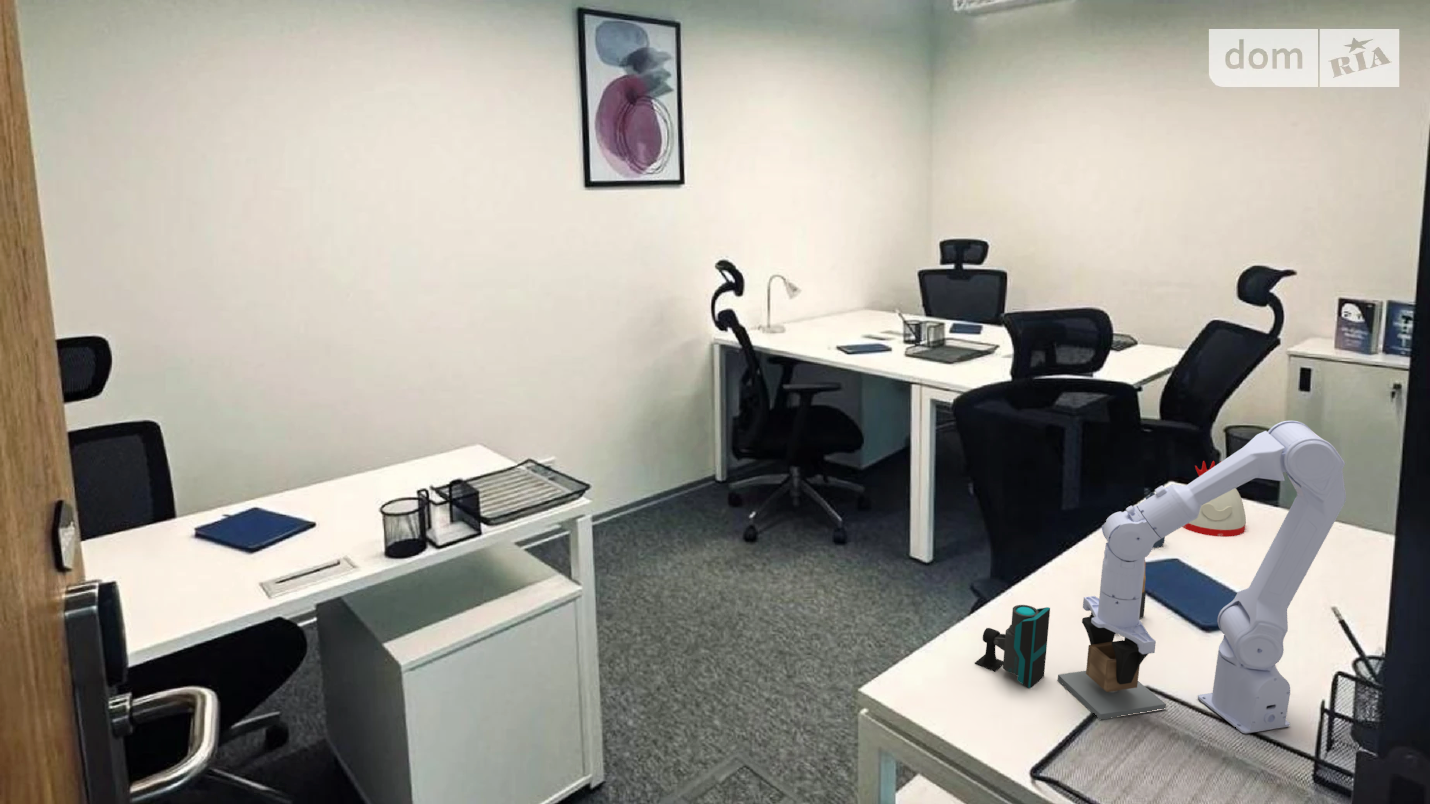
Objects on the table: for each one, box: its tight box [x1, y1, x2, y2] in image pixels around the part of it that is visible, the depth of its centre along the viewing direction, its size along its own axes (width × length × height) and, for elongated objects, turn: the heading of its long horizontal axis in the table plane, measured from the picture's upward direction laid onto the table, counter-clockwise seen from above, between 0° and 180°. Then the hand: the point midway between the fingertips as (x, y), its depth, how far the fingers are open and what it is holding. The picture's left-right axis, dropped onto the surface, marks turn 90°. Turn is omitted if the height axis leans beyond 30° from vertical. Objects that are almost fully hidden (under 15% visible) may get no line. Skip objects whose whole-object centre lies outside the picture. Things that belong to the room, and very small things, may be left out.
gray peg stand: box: [1057, 670, 1167, 720], centre depth 139 cm, size 11×11×6 cm
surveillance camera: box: [974, 604, 1051, 689], centre depth 145 cm, size 6×12×10 cm
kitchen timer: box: [1182, 460, 1247, 538], centre depth 201 cm, size 14×14×15 cm
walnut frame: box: [1085, 642, 1141, 692], centre depth 138 cm, size 5×5×5 cm
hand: (1112, 672), depth 139 cm, fingers closed on walnut frame, 5 cm apart
